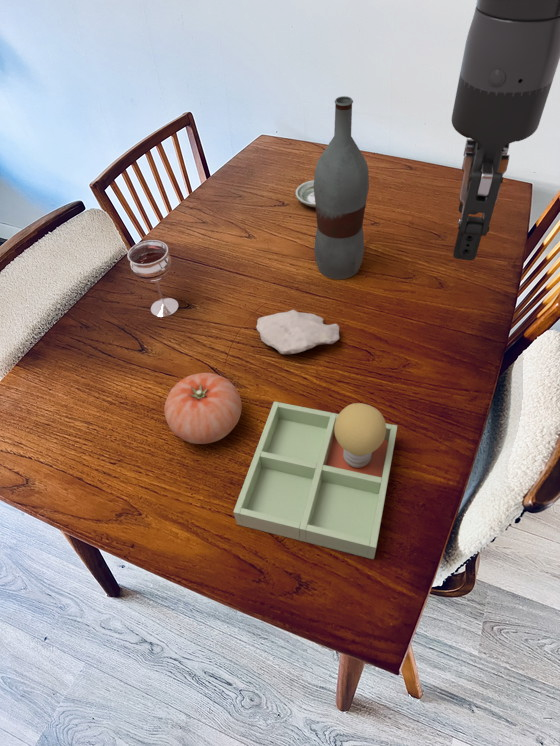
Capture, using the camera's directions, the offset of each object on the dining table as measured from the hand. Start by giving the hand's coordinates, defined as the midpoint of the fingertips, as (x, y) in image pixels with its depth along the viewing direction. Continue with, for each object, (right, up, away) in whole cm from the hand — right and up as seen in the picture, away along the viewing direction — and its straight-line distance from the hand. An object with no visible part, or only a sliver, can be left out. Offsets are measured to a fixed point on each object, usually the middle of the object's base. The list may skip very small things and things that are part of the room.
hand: (466, 233), depth 56 cm
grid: (-15, -29, +13) cm, 35 cm away
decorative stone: (-18, -9, +31) cm, 36 cm away
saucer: (-12, +22, +57) cm, 62 cm away
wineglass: (-41, -3, +37) cm, 56 cm away
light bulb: (-10, -27, +14) cm, 32 cm away
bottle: (-9, +5, +42) cm, 43 cm away
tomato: (-31, -23, +20) cm, 43 cm away
